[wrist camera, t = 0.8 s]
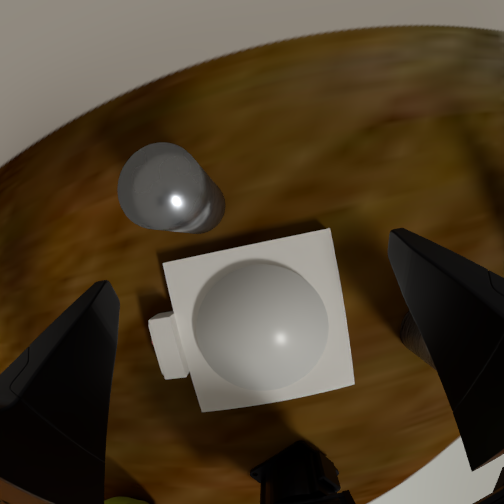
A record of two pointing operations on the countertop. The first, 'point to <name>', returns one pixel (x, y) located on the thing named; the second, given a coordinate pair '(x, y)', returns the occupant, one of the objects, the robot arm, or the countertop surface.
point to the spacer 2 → (414, 339)
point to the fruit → (124, 501)
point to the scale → (256, 323)
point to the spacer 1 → (169, 191)
